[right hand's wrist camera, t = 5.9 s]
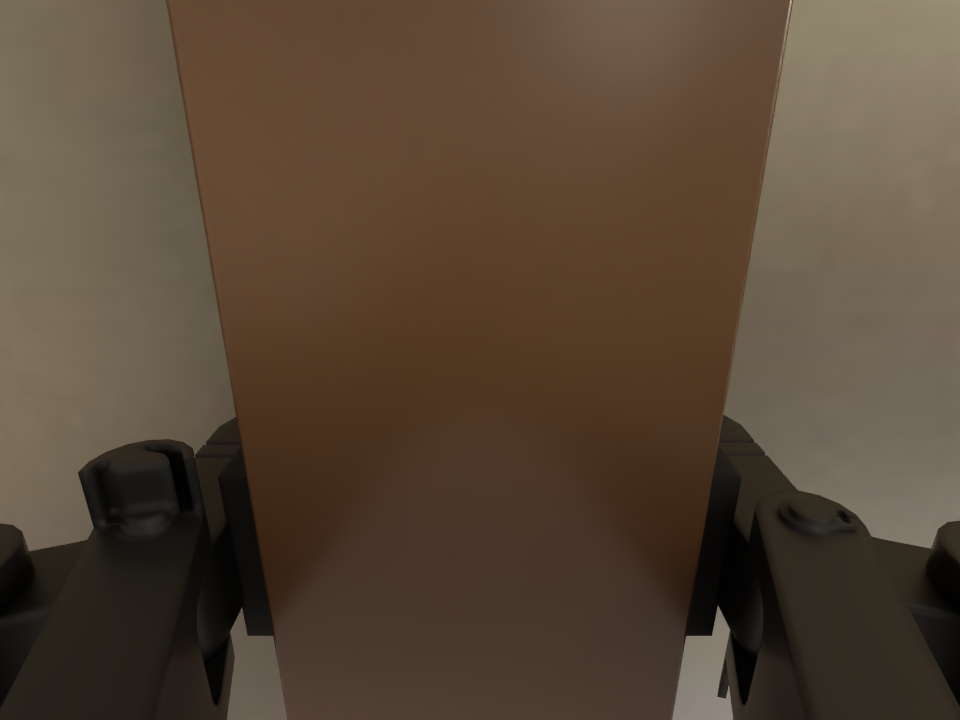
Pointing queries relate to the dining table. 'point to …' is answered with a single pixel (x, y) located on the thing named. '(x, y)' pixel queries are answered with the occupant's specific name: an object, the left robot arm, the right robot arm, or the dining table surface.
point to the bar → (479, 331)
